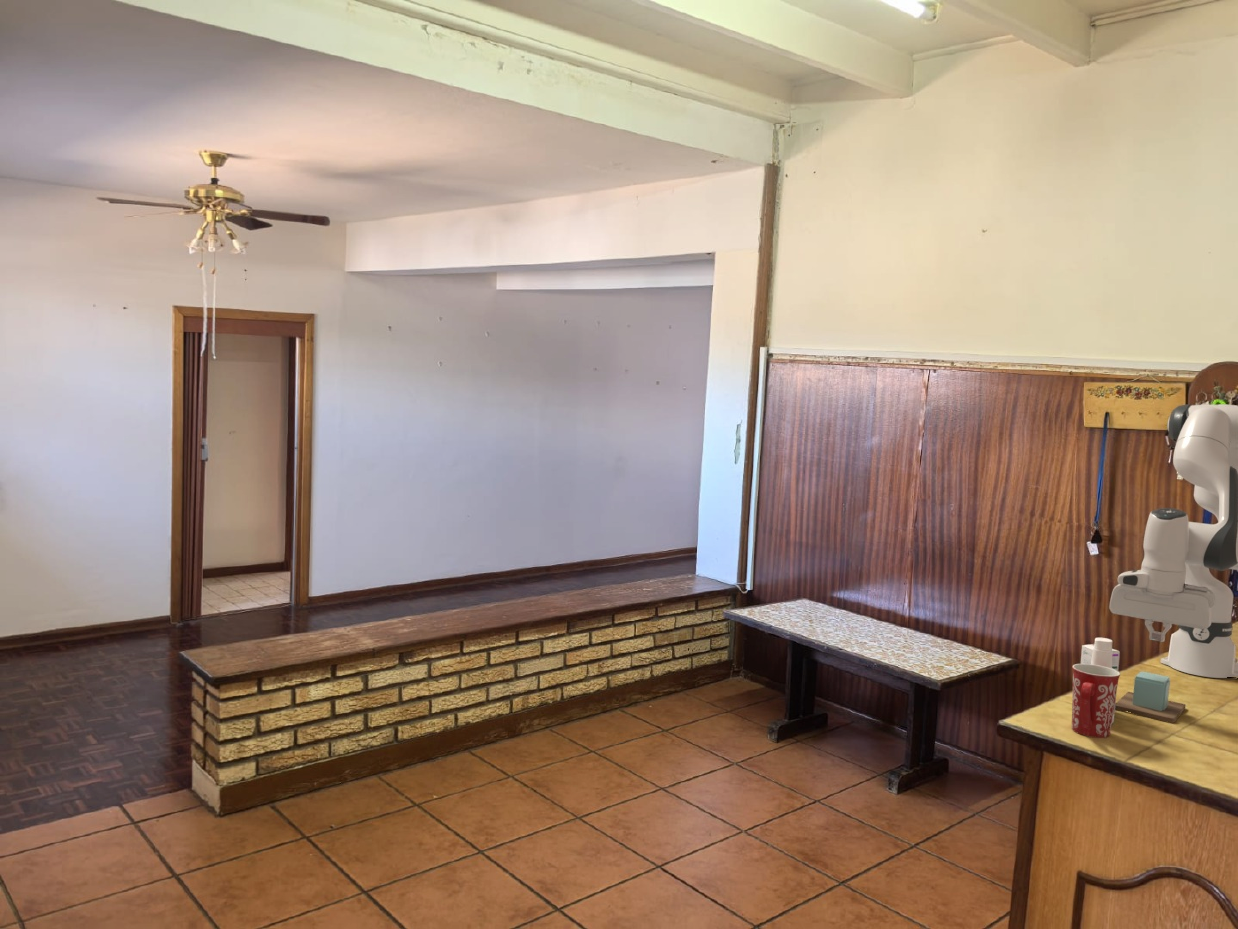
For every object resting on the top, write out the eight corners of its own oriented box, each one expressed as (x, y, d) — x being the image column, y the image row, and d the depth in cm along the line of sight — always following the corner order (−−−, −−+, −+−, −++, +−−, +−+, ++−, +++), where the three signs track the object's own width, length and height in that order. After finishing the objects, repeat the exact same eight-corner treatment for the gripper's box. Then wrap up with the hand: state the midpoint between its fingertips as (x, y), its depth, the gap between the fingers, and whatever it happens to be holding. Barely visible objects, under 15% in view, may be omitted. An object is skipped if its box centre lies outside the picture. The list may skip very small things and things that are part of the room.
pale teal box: (1137, 698, 224) (1140, 670, 223) (1168, 705, 220) (1171, 677, 219) (1131, 704, 219) (1134, 676, 218) (1162, 711, 215) (1165, 683, 214)
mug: (1073, 721, 209) (1079, 660, 207) (1119, 732, 203) (1125, 670, 201) (1055, 735, 199) (1061, 672, 198) (1102, 747, 193) (1108, 682, 192)
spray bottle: (1117, 727, 206) (1125, 645, 204) (1083, 723, 207) (1091, 642, 206) (1108, 716, 213) (1115, 637, 211) (1075, 712, 214) (1082, 634, 212)
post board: (1127, 695, 228) (1130, 667, 228) (1185, 708, 221) (1188, 679, 220) (1113, 709, 218) (1116, 680, 217) (1173, 723, 210) (1176, 693, 210)
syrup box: (1115, 714, 214) (1121, 650, 213) (1093, 715, 213) (1099, 651, 212) (1097, 705, 220) (1103, 643, 219) (1075, 706, 218) (1081, 644, 217)
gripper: (1218, 586, 212) (1212, 647, 214) (1117, 571, 226) (1111, 628, 227) (1213, 590, 208) (1207, 653, 209) (1110, 575, 221) (1105, 633, 222)
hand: (1156, 640), depth 218 cm, fingers closed
